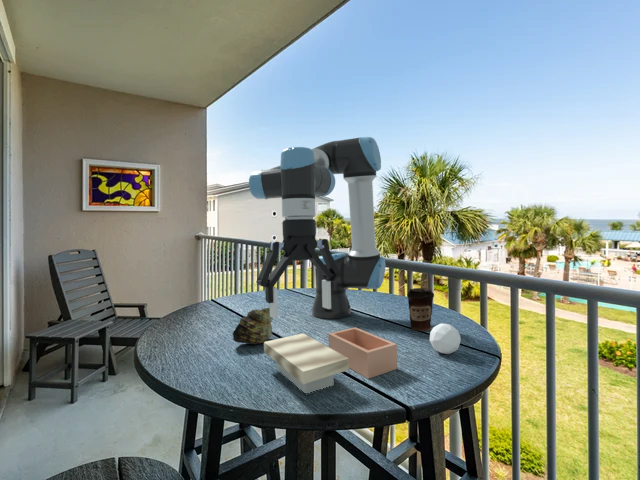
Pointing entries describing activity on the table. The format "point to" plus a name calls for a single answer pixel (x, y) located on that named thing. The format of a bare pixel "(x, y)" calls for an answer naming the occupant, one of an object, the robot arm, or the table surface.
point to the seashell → (254, 327)
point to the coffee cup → (420, 308)
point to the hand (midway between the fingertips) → (301, 312)
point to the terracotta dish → (365, 351)
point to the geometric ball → (445, 338)
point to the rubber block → (311, 385)
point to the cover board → (306, 357)
